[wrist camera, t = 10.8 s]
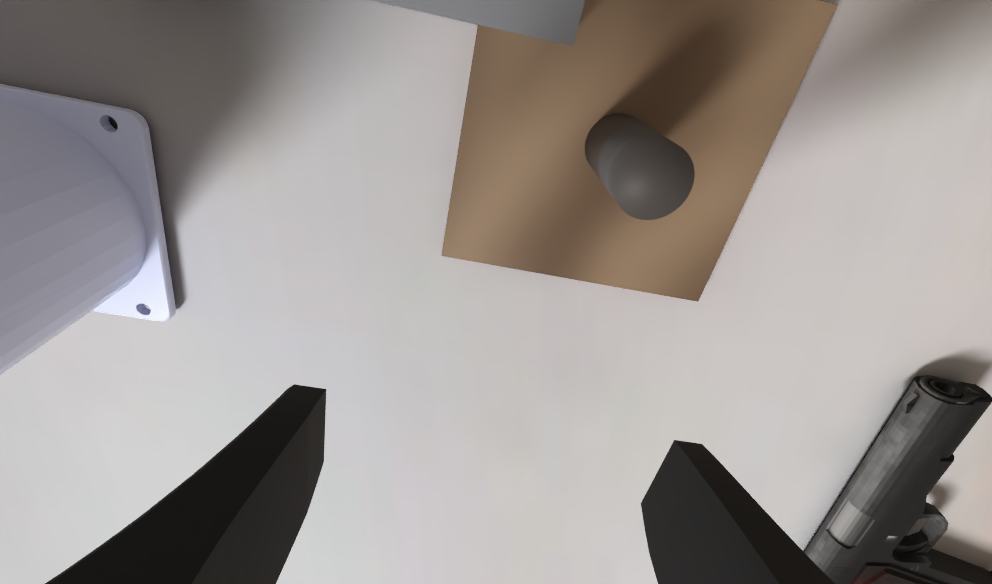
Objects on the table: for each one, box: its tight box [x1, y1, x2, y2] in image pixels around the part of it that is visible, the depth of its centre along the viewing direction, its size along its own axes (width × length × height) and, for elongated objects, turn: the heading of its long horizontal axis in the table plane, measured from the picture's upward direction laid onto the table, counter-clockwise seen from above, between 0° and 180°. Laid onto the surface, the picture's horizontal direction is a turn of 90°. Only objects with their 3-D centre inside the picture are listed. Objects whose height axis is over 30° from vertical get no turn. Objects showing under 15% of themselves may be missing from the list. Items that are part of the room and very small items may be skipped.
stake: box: [442, 0, 837, 301], centre depth 14 cm, size 10×10×5 cm
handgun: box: [804, 376, 992, 584], centre depth 25 cm, size 2×18×12 cm
